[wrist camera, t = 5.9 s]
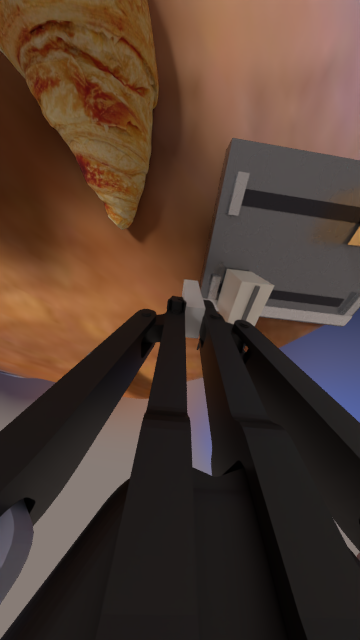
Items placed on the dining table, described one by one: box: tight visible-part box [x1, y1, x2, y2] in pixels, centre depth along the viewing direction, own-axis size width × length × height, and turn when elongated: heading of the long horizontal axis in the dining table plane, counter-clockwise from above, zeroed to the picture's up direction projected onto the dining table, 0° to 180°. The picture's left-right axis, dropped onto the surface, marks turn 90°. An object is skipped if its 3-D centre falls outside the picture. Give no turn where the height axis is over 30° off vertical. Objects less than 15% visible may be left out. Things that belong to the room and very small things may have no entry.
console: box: [199, 138, 360, 326], centre depth 17 cm, size 22×16×3 cm
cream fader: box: [217, 269, 274, 327], centre depth 16 cm, size 3×5×5 cm, turn 173°
